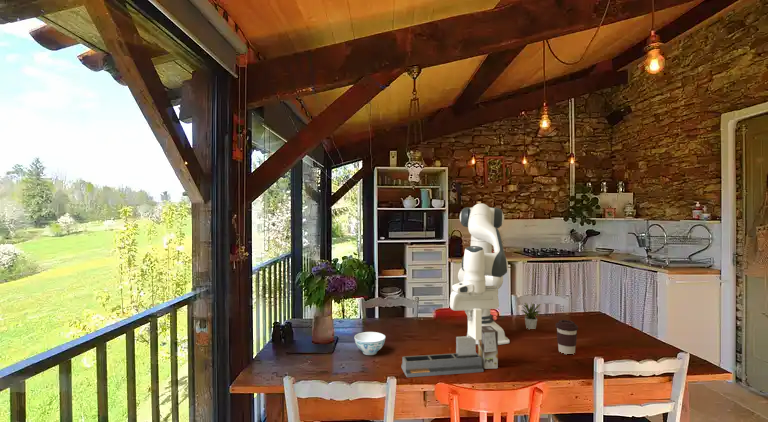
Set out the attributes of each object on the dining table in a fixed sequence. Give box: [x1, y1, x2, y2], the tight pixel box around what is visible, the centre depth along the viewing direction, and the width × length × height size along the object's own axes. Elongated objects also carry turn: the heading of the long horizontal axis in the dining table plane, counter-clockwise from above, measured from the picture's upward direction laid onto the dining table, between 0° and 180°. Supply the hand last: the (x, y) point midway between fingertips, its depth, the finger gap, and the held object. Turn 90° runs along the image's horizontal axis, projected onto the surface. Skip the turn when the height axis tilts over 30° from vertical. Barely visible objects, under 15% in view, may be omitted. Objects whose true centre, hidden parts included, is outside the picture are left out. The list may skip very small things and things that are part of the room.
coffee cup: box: [555, 319, 579, 355], centre depth 185 cm, size 10×10×15 cm
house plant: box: [521, 301, 542, 330], centre depth 224 cm, size 14×14×16 cm
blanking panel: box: [467, 308, 482, 340], centre depth 154 cm, size 8×2×12 cm, turn 10°
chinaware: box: [354, 331, 386, 356], centre depth 183 cm, size 15×15×8 cm
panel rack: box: [400, 335, 484, 378], centre depth 163 cm, size 34×10×14 cm, turn 100°
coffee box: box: [477, 326, 499, 370], centre depth 169 cm, size 9×6×16 cm
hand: (474, 320), depth 155 cm, fingers closed on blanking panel, 2 cm apart
